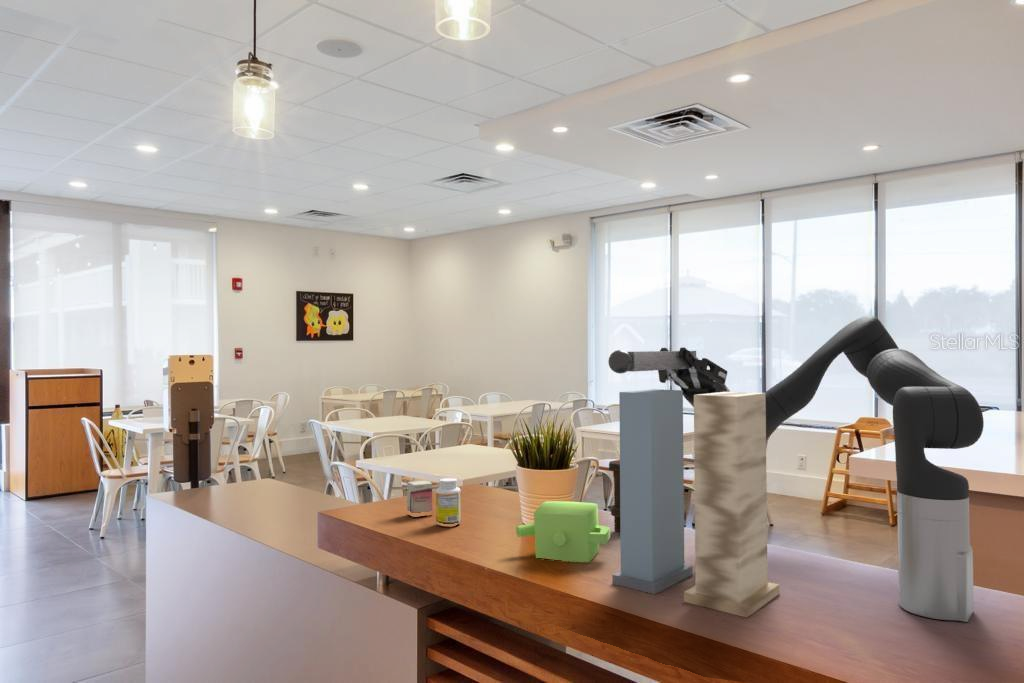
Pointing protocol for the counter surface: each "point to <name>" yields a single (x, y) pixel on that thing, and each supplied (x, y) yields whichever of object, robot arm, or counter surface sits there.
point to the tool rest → (730, 503)
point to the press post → (651, 490)
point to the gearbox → (566, 531)
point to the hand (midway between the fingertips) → (671, 352)
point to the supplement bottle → (448, 502)
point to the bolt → (616, 493)
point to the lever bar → (645, 361)
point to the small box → (419, 496)
